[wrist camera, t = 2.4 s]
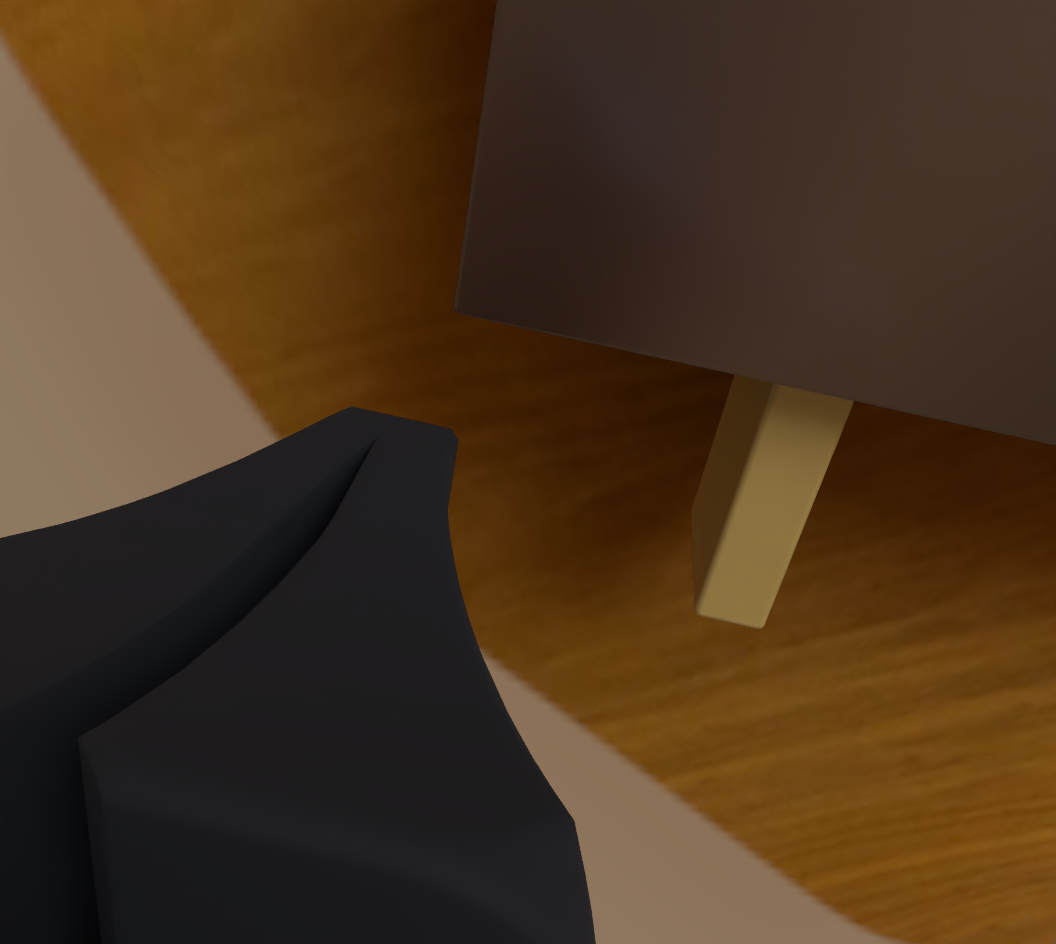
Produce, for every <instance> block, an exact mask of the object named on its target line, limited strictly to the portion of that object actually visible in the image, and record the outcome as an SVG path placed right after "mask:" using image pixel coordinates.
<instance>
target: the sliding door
mask: <svg viewBox="0 0 1056 944" xmlns="http://www.w3.org/2000/svg"><path fill="white" fill-rule="evenodd" d="M853 403H854V401H852V400H847V399H842V398H838V397H833V396H829V395H824V394H820V393H815V392H811V391H806V390H802V389H797V388H793V387H788V386H784V385H779V384H775V383H770V382H766V381H761V380H756V379H752V378H747V377H743V376H738V375H734V378H733V381H732V385H731V388H730V391H729V394H728V397H727V400H726V403H725V406H724V410H723V413H722V416H721V419H720V422H719V425H718V428H717V431H716V434H715V438H714V441H713V444H712V447H711V450H710V453H709V456H708V459H707V462H706V466H705V469H704V472H703V475H702V478H701V481H700V484H699V487H698V491H697V494H696V497H695V500H694V503H693V506H692V509H691V520H692V551H693V582H694V609H695V612H696V614H698V615H699V616H703V617H707V618H712V619H716V620H720V621H725V622H729V623H733V624H738V625H742V626H746V627H751V628H755V629H761V628H762V627H763V626H764V624H765V622H766V620H767V617H768V615H769V612H770V610H771V607H772V605H773V602H774V600H775V597H776V595H777V592H778V590H779V587H780V585H781V582H782V580H783V577H784V575H785V572H786V570H787V568H788V565H789V563H790V560H791V558H792V555H793V553H794V550H795V548H796V545H797V543H798V540H799V538H800V535H801V533H802V530H803V528H804V525H805V523H806V520H807V518H808V515H809V513H810V510H811V508H812V505H813V503H814V500H815V498H816V495H817V493H818V490H819V488H820V485H821V483H822V480H823V478H824V475H825V473H826V470H827V468H828V465H829V463H830V460H831V458H832V455H833V453H834V450H835V448H836V446H837V443H838V441H839V438H840V436H841V433H842V431H843V428H844V426H845V423H846V421H847V418H848V416H849V413H850V411H851V408H852V406H853Z"/></svg>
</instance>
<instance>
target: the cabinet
mask: <svg viewBox="0 0 1056 944" xmlns="http://www.w3.org/2000/svg"><path fill="white" fill-rule="evenodd" d="M454 310H455V312H457V313H458V314H462V315H467V316H471V317H476V318H480V319H485V320H489V321H494V322H498V323H503V324H507V325H512V326H516V327H521V328H526V329H530V330H535V331H539V332H544V333H548V334H553V335H557V336H562V337H566V338H571V339H575V340H580V341H584V342H589V343H593V344H598V345H603V346H607V347H612V348H616V349H621V350H625V351H630V352H634V353H639V354H643V355H648V356H652V357H657V358H661V359H666V360H670V361H675V362H679V363H684V364H689V365H693V366H698V367H702V368H707V369H711V370H716V371H720V372H725V373H729V374H734V375H738V376H743V377H747V378H752V379H756V380H761V381H766V382H770V383H775V384H779V385H784V386H788V387H793V388H797V389H802V390H806V391H811V392H815V393H820V394H824V395H829V396H833V397H838V398H842V399H847V400H852V401H856V402H861V403H865V404H870V405H874V406H879V407H883V408H888V409H892V410H897V411H901V412H906V413H910V414H915V415H919V416H924V417H929V418H933V419H938V420H942V421H947V422H951V423H956V424H960V425H965V426H969V427H974V428H978V429H983V430H987V431H992V432H996V433H1001V434H1005V435H1010V436H1015V437H1019V438H1024V439H1028V440H1033V441H1037V442H1042V443H1046V444H1051V445H1055V446H1056V0H497V1H496V8H495V15H494V22H493V29H492V36H491V43H490V51H489V58H488V65H487V72H486V79H485V86H484V93H483V100H482V107H481V115H480V122H479V129H478V136H477V143H476V150H475V157H474V164H473V171H472V179H471V186H470V193H469V200H468V207H467V214H466V221H465V228H464V235H463V243H462V250H461V257H460V264H459V271H458V278H457V285H456V292H455V299H454Z"/></svg>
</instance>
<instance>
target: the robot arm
mask: <svg viewBox="0 0 1056 944" xmlns="http://www.w3.org/2000/svg"><path fill="white" fill-rule="evenodd" d="M457 446H458V438H457V437H456V435H455V434H454V432H453V431H452V430H451V429H450V428H445V427H441V426H437V425H432V424H428V423H423V422H419V421H414V420H410V419H406V418H401V417H397V416H392V415H388V414H383V413H379V412H374V411H370V410H366V409H361V408H357V407H349V408H347V409H344V410H342V411H339V412H337V413H335V414H333V415H331V416H329V417H327V418H325V419H323V420H321V421H319V422H317V423H315V424H313V425H310V426H308V427H306V428H304V429H302V430H300V431H298V432H296V433H294V434H292V435H290V436H288V437H286V438H284V439H282V440H280V441H278V442H276V443H274V444H272V445H270V446H267V447H265V448H263V449H261V450H259V451H257V452H255V453H253V454H251V455H249V456H246V457H244V458H242V459H240V460H238V461H236V462H233V463H231V464H228V465H226V466H224V467H221V468H219V469H216V470H214V471H212V472H209V473H207V474H204V475H202V476H200V477H197V478H195V479H192V480H190V481H187V482H185V483H183V484H180V485H178V486H175V487H173V488H171V489H168V490H165V491H163V492H160V493H157V494H155V495H152V496H149V497H146V498H143V499H140V500H138V501H135V502H132V503H129V504H126V505H123V506H120V507H116V508H113V509H110V510H106V511H103V512H100V513H97V514H94V515H90V516H87V517H84V518H80V519H77V520H73V521H70V522H66V523H63V524H59V525H54V526H50V527H46V528H42V529H37V530H33V531H29V532H24V533H20V534H16V535H11V536H7V537H3V538H0V944H596V943H595V934H594V926H593V918H592V911H591V905H590V899H589V893H588V887H587V882H586V875H585V870H584V866H583V861H582V856H581V851H580V846H579V841H578V836H577V832H576V827H575V822H574V820H573V818H572V817H571V815H570V814H569V813H568V811H567V809H566V808H565V806H564V805H563V803H562V802H561V801H560V799H559V798H558V796H557V795H556V793H555V792H554V790H553V789H552V787H551V786H550V784H549V783H548V781H547V779H546V778H545V776H544V775H543V773H542V771H541V770H540V768H539V767H538V765H537V763H536V762H535V760H534V759H533V757H532V755H531V754H530V752H529V750H528V748H527V747H526V745H525V743H524V741H523V739H522V738H521V736H520V734H519V732H518V731H517V729H516V727H515V725H514V723H513V721H512V719H511V718H510V716H509V714H508V712H507V710H506V708H505V706H504V703H503V701H502V699H501V697H500V694H499V692H498V690H497V688H496V686H495V683H494V681H493V679H492V677H491V675H490V673H489V670H488V668H487V666H486V663H485V661H484V659H483V657H482V654H481V652H480V649H479V646H478V643H477V641H476V638H475V635H474V632H473V629H472V626H471V624H470V621H469V617H468V614H467V611H466V607H465V604H464V600H463V597H462V593H461V589H460V585H459V581H458V577H457V572H456V568H455V562H454V556H453V551H452V545H451V538H450V531H449V521H448V504H449V498H450V491H451V485H452V478H453V472H454V465H455V459H456V452H457Z"/></svg>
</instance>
